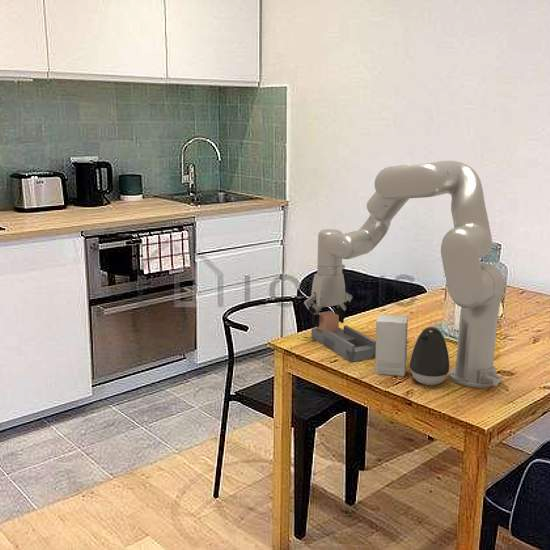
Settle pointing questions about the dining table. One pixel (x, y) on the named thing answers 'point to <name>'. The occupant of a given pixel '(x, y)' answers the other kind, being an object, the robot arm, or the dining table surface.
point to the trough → (347, 343)
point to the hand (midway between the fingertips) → (328, 323)
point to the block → (328, 321)
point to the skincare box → (391, 344)
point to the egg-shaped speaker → (430, 357)
